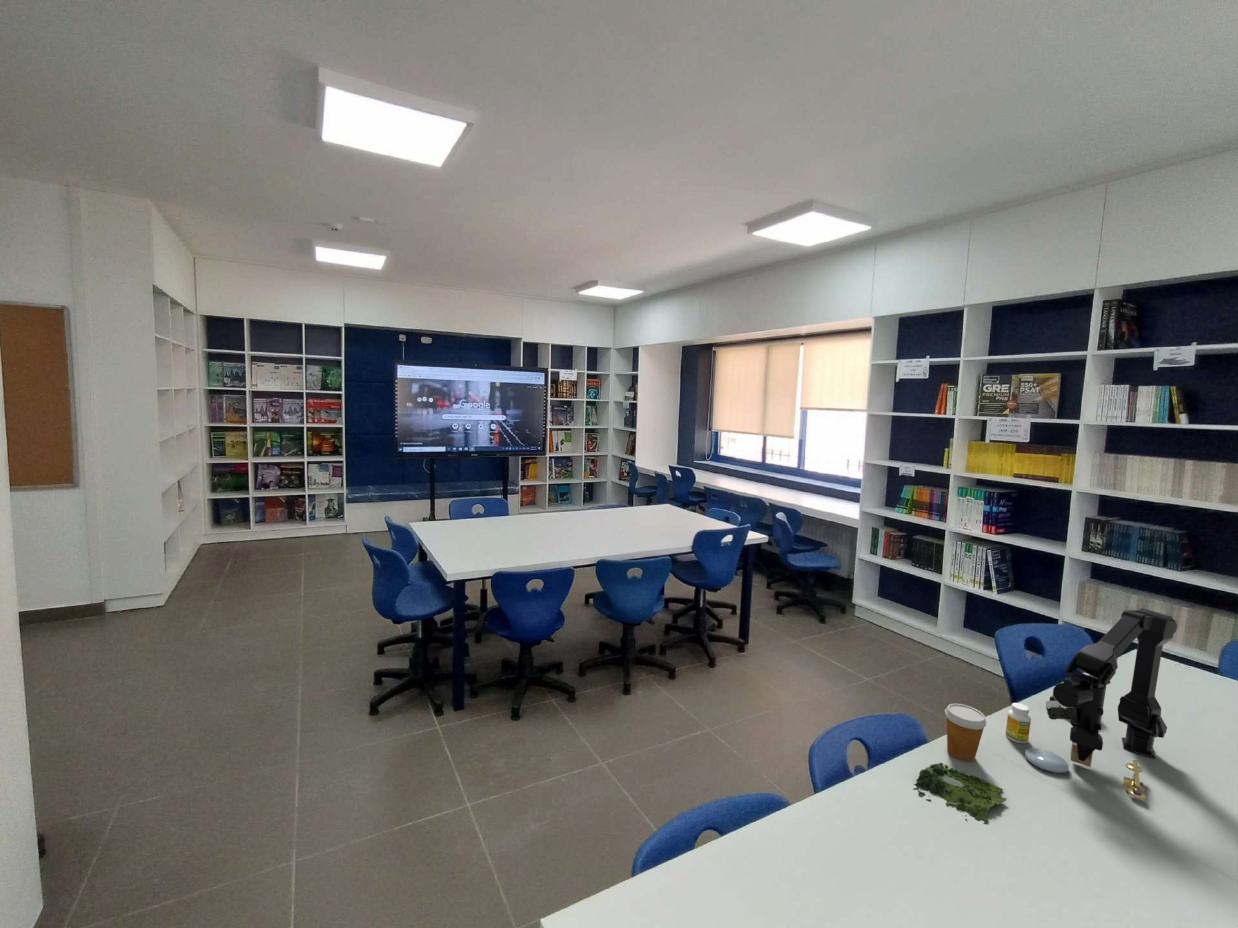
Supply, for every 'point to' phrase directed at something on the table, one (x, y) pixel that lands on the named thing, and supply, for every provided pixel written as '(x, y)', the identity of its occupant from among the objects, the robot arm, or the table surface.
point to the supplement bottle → (1018, 723)
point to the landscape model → (959, 790)
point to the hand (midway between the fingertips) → (1080, 756)
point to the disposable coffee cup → (964, 731)
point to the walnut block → (1075, 756)
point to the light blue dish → (1046, 760)
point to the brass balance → (1134, 782)
